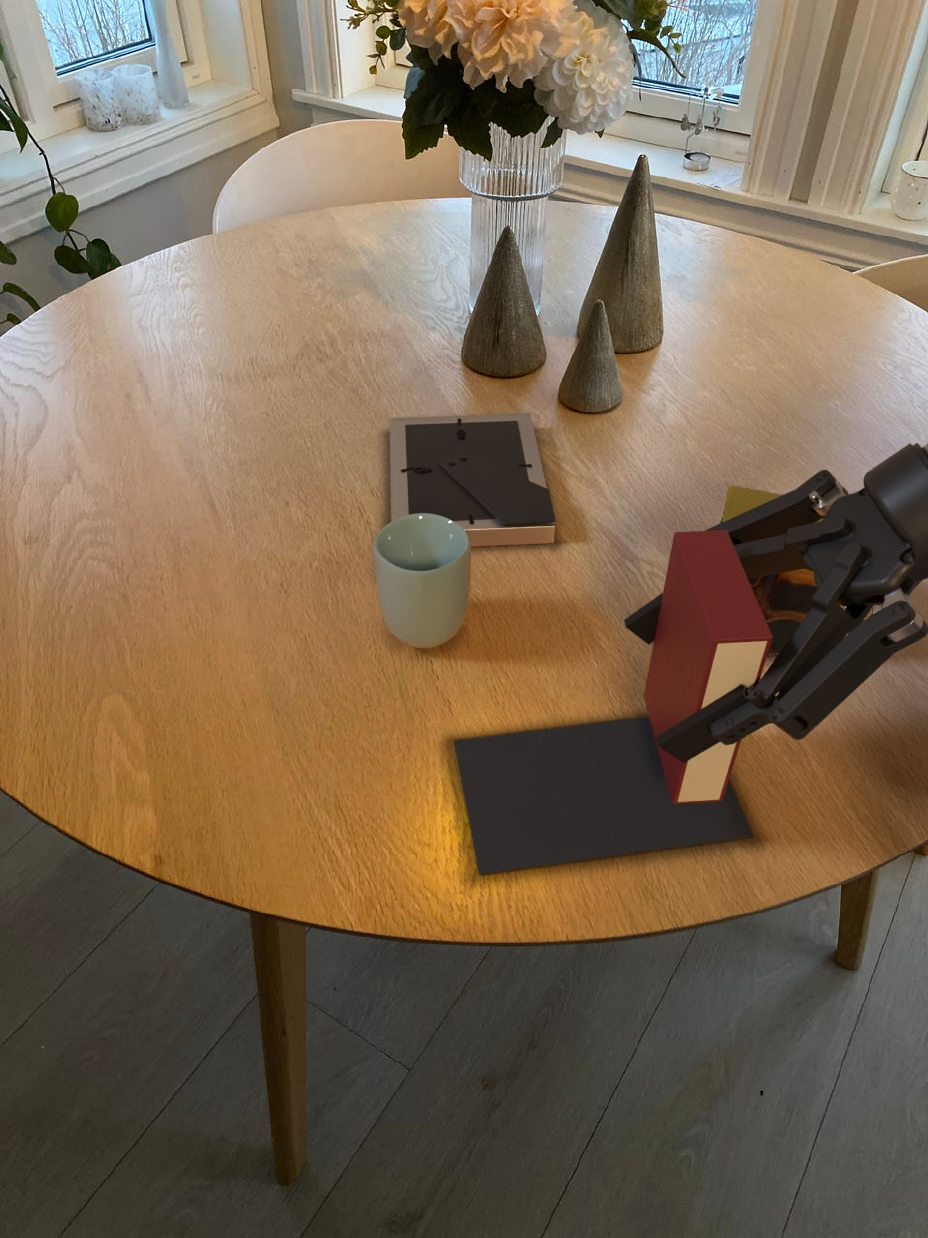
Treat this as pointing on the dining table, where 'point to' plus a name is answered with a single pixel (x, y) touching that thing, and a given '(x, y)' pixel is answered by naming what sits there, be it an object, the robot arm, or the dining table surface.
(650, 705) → the book
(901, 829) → the dining table surface
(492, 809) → the mat
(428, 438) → the picture frame
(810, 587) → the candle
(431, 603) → the cup
